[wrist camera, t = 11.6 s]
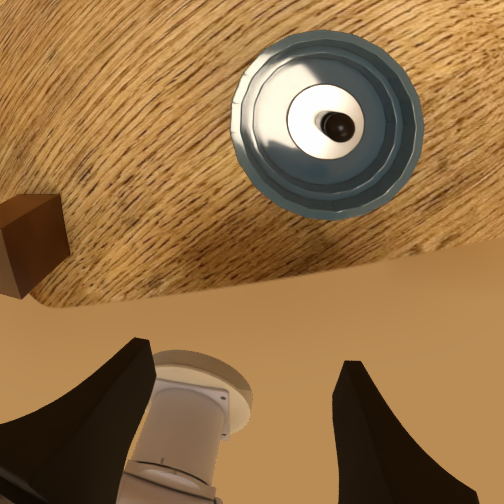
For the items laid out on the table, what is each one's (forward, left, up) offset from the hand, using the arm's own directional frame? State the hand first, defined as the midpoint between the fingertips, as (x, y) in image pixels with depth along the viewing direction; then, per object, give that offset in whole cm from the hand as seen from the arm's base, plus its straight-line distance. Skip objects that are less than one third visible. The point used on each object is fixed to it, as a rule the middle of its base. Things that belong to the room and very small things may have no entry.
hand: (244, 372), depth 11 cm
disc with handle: (+8, -3, -10) cm, 13 cm away
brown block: (0, +18, -10) cm, 20 cm away
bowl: (+8, -3, -10) cm, 14 cm away
